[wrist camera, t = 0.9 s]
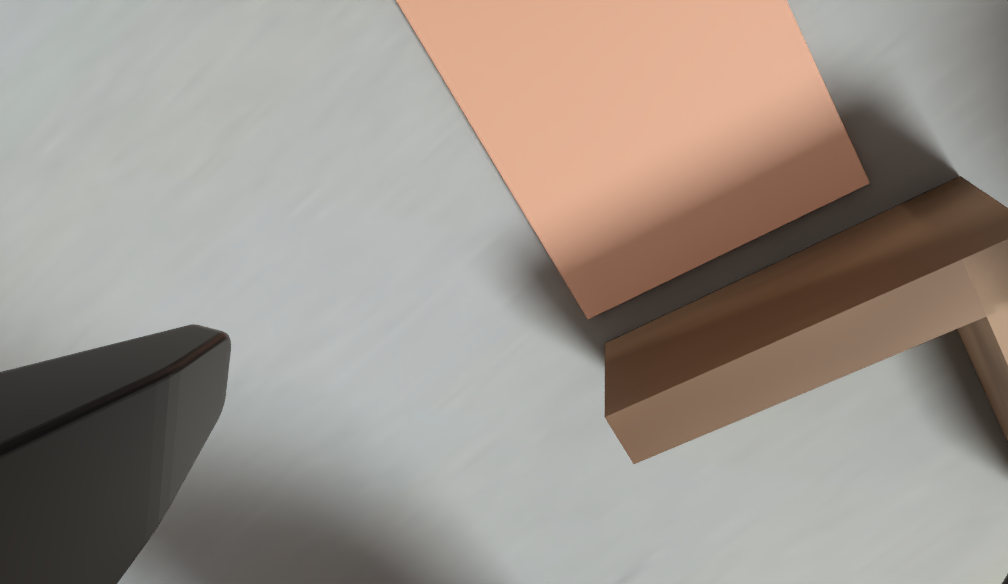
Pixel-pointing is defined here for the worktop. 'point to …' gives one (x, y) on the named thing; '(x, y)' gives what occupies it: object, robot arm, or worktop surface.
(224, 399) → the robot arm
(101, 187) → the worktop surface
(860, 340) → the bent channel
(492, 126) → the pad
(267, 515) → the worktop surface
